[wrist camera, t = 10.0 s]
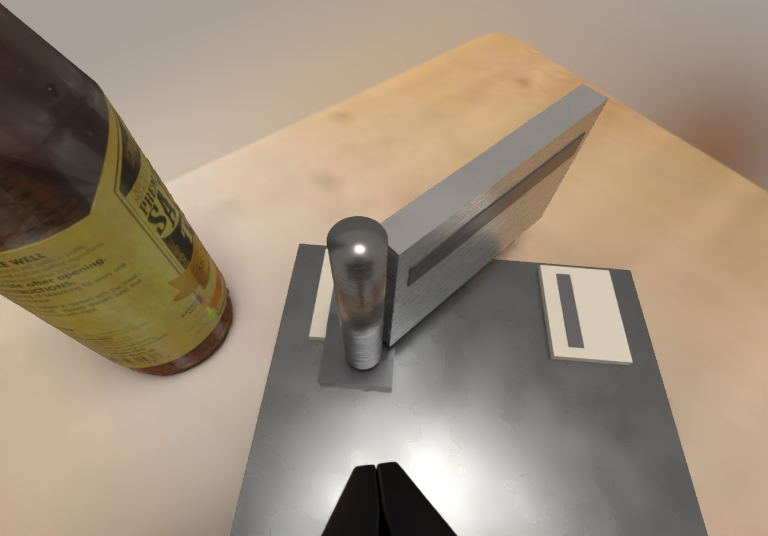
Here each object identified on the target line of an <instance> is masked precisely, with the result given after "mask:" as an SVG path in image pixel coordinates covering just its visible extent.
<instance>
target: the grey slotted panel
mask: <svg viewBox="0 0 768 536" xmlns="http://www.w3.org/2000/svg"><path fill="white" fill-rule="evenodd" d="M608 99H609V98H607V97H606V96H604V95H602V94H600V93H598V92H596V91H594V90H593V89H591V88H589V87H587V86H585V85H583V84H581V85H580V86H579V87H577V88H576V89H574V90H573V91H571V92H570V93H568V94H567V95H566V96H564V97H563V98H561V99H560V100H558V101H557V102H555V103H554V104H553V105H551V106H550V107H548V108H547V109H545V110H544V111H542V112H541V113H540V114H538V115H537V116H535V117H534V118H532V119H531V120H529V121H528V122H527V123H525V124H524V125H522V126H521V127H519V128H518V129H516V130H515V131H514V132H512V133H511V134H509V135H508V136H506V137H505V138H503V139H502V140H501V141H499V142H498V143H496V144H495V145H493V146H492V147H490V148H489V149H488V150H486V151H485V152H483V153H482V154H480V155H479V156H477V157H476V158H474V159H473V160H472V161H470V162H469V163H467V164H466V165H464V166H463V167H461V168H460V169H459V170H457V171H456V172H454V173H453V174H451V175H450V176H448V177H447V178H446V179H444V180H443V181H441V182H440V183H438V184H437V185H435V186H434V187H433V188H431V189H430V190H428V191H427V192H425V193H424V194H422V195H421V196H420V197H418V198H417V199H415V200H414V201H412V202H411V203H409V204H408V205H407V206H405V207H404V208H402V209H401V210H399V211H398V212H396V213H395V214H394V215H392V216H391V217H389V218H388V219H386V220H385V221H383V222H382V223H380V224H379V223H378V222H377V221H375V220H373V219H371V218H368V217H362V216H354V217H348V218H345V219H343V220H341V221H339V222H338V223H336V224H335V225H334V226H333V227H332V228H331V230H330V231H329V233H328V236H327V248H328V254H329V260H330V266H331V272H332V278H333V284H334V290H335V296H336V301H337V307H338V313H339V319H340V325H341V331H342V337H343V343H344V349H345V355H346V358H347V361H348V362H349V363H350V364H351V365H352V366H353V367H355V368H357V369H362V370H364V369H369V368H372V367H374V366H375V365H376V364H377V363H378V362H379V360H380V358H381V355H382V341H383V340H384V341H385V342H386V344H387V345H388V346H389V347H390V346H391V345H393V344H394V343H395V342H396V341H397V340H398V339H400V338H401V337H402V336H403V335H404V334H405V333H407V332H408V331H409V330H410V329H411V328H412V327H414V326H415V325H416V324H417V323H418V322H419V321H421V320H422V319H423V318H424V317H425V316H426V315H428V314H429V313H430V312H431V311H432V310H434V309H435V308H436V307H437V306H438V305H439V304H441V303H442V302H443V301H444V300H445V299H446V298H448V297H449V296H450V295H451V294H452V293H453V292H455V291H456V290H457V289H458V288H459V287H460V286H462V285H463V284H464V283H465V282H466V281H467V280H469V279H470V278H471V277H472V276H473V275H474V274H476V273H477V272H478V271H479V270H480V269H481V268H483V267H484V266H485V265H486V264H487V263H488V262H490V261H491V260H492V259H493V258H494V257H495V256H497V255H498V254H499V253H500V252H501V251H502V250H504V249H505V248H506V247H507V246H508V245H510V244H511V243H512V242H513V241H514V240H515V239H517V238H518V237H519V236H520V235H521V234H522V233H524V232H525V231H526V230H527V229H528V228H529V227H531V226H532V225H533V224H534V223H535V222H536V221H538V220H539V219H540V218H541V217H542V215H543V213H544V212H545V210H546V208H547V206H548V204H549V203H550V201H551V199H552V197H553V196H554V194H555V192H556V190H557V189H558V187H559V185H560V183H561V182H562V180H563V178H564V176H565V174H566V173H567V171H568V169H569V167H570V166H571V164H572V162H573V160H574V159H575V157H576V155H577V153H578V152H579V150H580V148H581V146H582V144H583V143H584V141H585V139H586V137H587V136H588V134H589V132H590V130H591V129H592V127H593V125H594V123H595V122H596V120H597V118H598V116H599V115H600V113H601V111H602V109H603V107H604V106H605V104H606V102H607V100H608Z"/></svg>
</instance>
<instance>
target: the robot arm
mask: <svg viewBox="0 0 768 536" xmlns="http://www.w3.org/2000/svg"><path fill="white" fill-rule="evenodd" d="M321 536H457V534H456V533H455V532H454V531H453V529H452V528H451V527H450V526H449V525H448V523H447V522H446V521H445V520H444V518H443V517H442V516H441V515H440V514H439V512H438V511H437V510H436V509H435V507H434V506H433V505H432V504H431V503H430V501H429V500H428V499H427V498H426V496H425V495H424V494H423V493H422V492H421V490H420V489H419V488H418V487H417V486H416V484H415V483H414V482H413V481H412V479H411V478H410V477H409V476H408V475H407V473H406V472H405V471H404V470H403V468H402V467H401V466H400V465H399V464H398V463H397V462H386V463H379V464H378V465H377V466H376V467H375V465H373V464H370V465H361V466H356V467H355V468H354V469H353V471H352V473H351V475H350V477H349V479H348V481H347V483H346V485H345V487H344V489H343V491H342V493H341V495H340V497H339V499H338V501H337V504H336V506H335V508H334V510H333V512H332V514H331V516H330V518H329V520H328V522H327V524H326V526H325V528H324V530H323V532H322V534H321Z"/></svg>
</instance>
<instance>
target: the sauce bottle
mask: <svg viewBox="0 0 768 536" xmlns="http://www.w3.org/2000/svg"><path fill="white" fill-rule="evenodd" d="M0 294H1V295H2V296H4V297H6V298H7V299H9V300H11V301H12V302H14V303H16V304H17V305H19V306H21V307H22V308H24V309H26V310H27V311H29V312H31V313H32V314H34V315H36V316H37V317H39V318H40V319H42V320H43V321H45V322H47V323H48V324H50V325H52V326H54V327H55V328H57V329H59V330H60V331H62V332H63V333H65V334H67V335H68V336H70V337H71V338H73V339H75V340H76V341H78V342H80V343H81V344H83V345H85V346H86V347H88V348H90V349H92V350H93V351H95V352H97V353H98V354H100V355H102V356H104V357H105V358H107V359H109V360H110V361H112V362H114V363H117V364H119V365H122V366H126V367H129V368H130V369H133V370H135V371H138V372H140V373H148V374H156V375H166V374H173V373H176V372H180V371H184V370H186V369H188V368H189V367H191V366H194V365H196V364H198V363H200V362H201V361H202V360H203V359H204V358H205V357H207V356H209V355H210V354H211V353H212V352H213V351H214V350H215V349H216V348H217V347H218V346H219V344H220V343H221V342H222V340H223V339H224V337H225V336H226V334H227V331H228V329H229V326H230V323H231V319H232V305H231V300H230V297H229V291H228V289H227V288H226V284H225V280H224V278H223V276H222V274H221V272H220V271H219V269H218V268H217V266H216V265H215V263H214V262H213V260H212V258H211V257H210V255H209V254H208V252H207V251H206V249H205V248H204V246H203V245H202V243H201V241H200V240H199V238H198V237H197V235H196V234H195V232H194V230H193V229H192V227H191V226H190V224H189V223H188V221H187V220H186V218H185V216H184V214H183V213H182V211H181V210H180V208H179V207H178V205H177V204H176V203H175V201H174V200H173V198H172V196H171V194H170V193H169V191H168V190H167V188H166V187H165V185H164V184H163V182H162V181H161V179H160V178H159V176H158V174H157V173H156V171H155V170H154V169H153V167H152V166H151V164H150V162H149V160H148V159H147V158H146V157H145V155H144V154H143V152H142V151H141V149H140V148H139V146H138V144H137V143H136V142H135V140H134V138H133V137H132V135H131V133H130V132H129V130H128V129H127V127H126V125H125V124H124V122H123V120H122V119H121V118H120V116H119V115H118V113H117V112H116V111H115V109H114V108H113V106H112V105H111V103H110V102H109V100H108V98H107V97H106V95H105V94H104V92H103V91H102V89H101V88H100V87H99V85H98V84H97V83H96V82H95V81H94V80H92V79H91V78H90V77H89V76H88V75H86V74H85V73H84V72H83V71H82V70H80V69H79V68H78V67H77V66H76V65H74V64H73V63H72V62H71V61H69V60H68V59H67V58H66V57H64V56H63V55H62V54H61V53H60V52H58V51H57V50H56V49H55V48H54V47H53V46H51V45H50V44H49V43H48V42H46V41H45V40H44V39H43V38H42V37H40V36H39V35H38V34H37V33H35V32H34V31H33V30H32V29H31V28H30V27H28V26H27V25H26V24H25V23H23V22H22V21H21V20H20V19H19V18H17V17H16V16H15V15H14V14H13V13H11V12H10V11H9V10H8V9H7V8H5V7H4V6H3V5H2V4H1V3H0Z"/></svg>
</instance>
